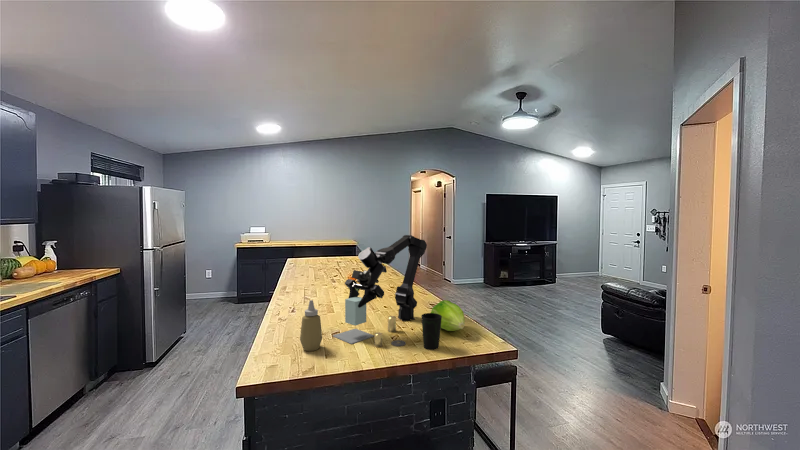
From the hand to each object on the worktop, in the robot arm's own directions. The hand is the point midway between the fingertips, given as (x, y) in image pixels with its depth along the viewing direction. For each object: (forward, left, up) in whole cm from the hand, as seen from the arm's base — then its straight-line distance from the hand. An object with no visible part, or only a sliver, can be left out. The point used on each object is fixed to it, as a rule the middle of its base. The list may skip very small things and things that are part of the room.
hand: (353, 305), depth 138 cm
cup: (-25, +20, -14) cm, 35 cm away
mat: (-1, -2, -13) cm, 14 cm away
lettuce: (-41, +8, -14) cm, 44 cm away
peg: (-18, -2, -13) cm, 22 cm away
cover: (-1, -1, -7) cm, 7 cm away
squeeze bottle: (+17, +4, -14) cm, 22 cm away
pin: (-7, +11, -13) cm, 18 cm away
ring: (-15, +12, -13) cm, 23 cm away
